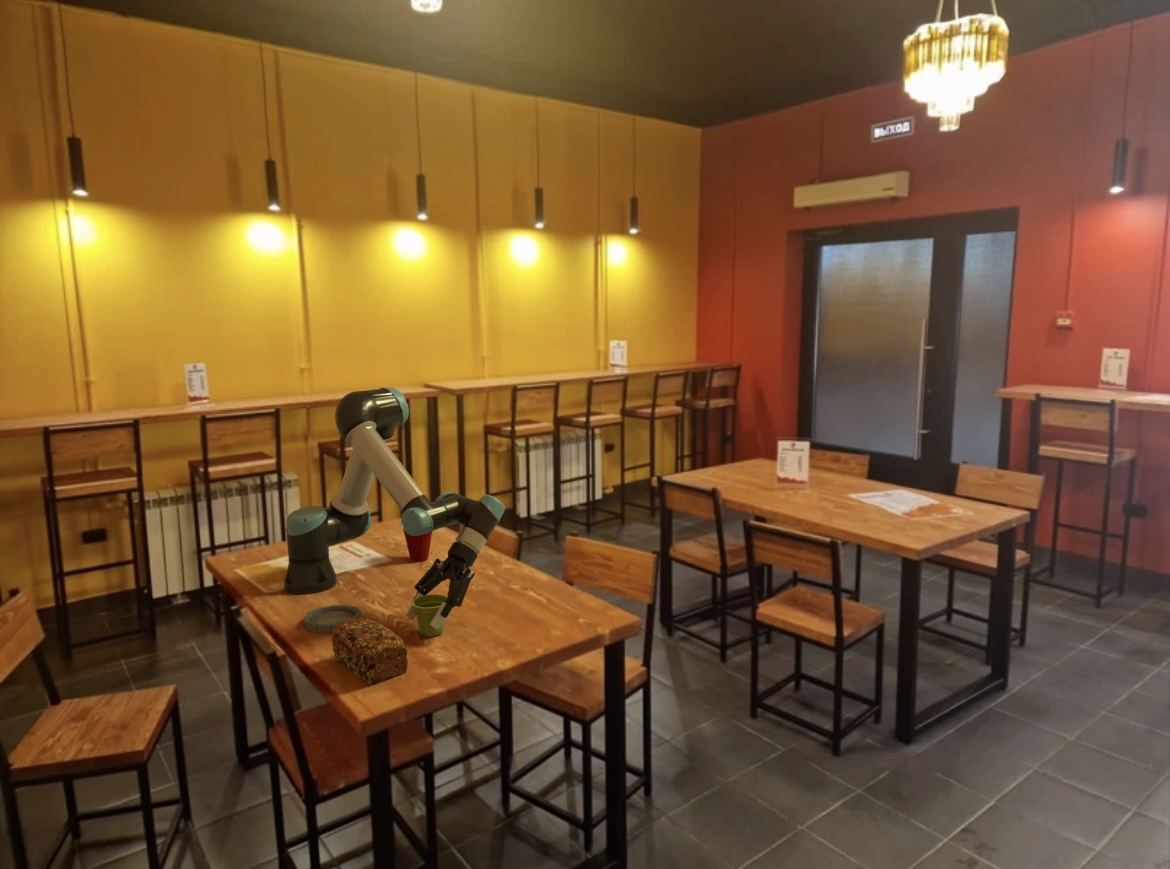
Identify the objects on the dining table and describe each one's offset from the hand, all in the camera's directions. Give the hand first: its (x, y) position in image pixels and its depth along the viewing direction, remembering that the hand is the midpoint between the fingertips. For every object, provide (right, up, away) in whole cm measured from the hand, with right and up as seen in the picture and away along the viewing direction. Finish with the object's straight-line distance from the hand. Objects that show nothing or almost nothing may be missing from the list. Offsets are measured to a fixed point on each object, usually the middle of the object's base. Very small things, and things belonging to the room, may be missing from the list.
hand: (421, 622), depth 201 cm
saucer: (-26, -2, +10) cm, 28 cm away
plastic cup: (-13, +6, +61) cm, 63 cm away
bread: (-9, -7, -16) cm, 19 cm away
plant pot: (+2, -4, +3) cm, 5 cm away
